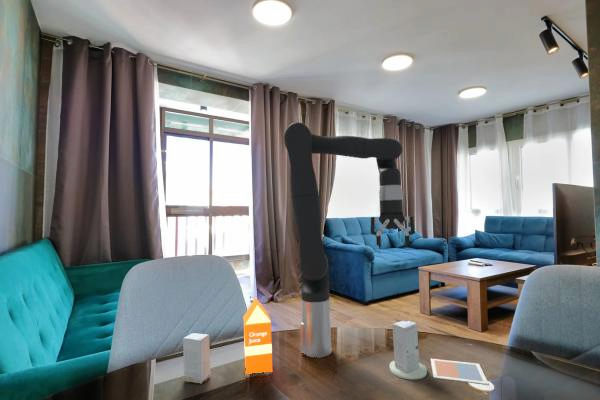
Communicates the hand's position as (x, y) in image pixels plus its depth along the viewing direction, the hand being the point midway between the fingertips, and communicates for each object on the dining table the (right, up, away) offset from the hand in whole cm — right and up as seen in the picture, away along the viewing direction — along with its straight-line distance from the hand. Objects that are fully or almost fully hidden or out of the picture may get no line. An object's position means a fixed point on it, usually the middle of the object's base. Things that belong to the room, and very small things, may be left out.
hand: (393, 247), depth 104 cm
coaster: (-1, -32, -17) cm, 36 cm away
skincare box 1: (-60, -35, -18) cm, 72 cm away
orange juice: (-44, -34, -13) cm, 57 cm away
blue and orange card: (+12, -32, -18) cm, 39 cm away
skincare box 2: (-1, -32, -16) cm, 36 cm away
